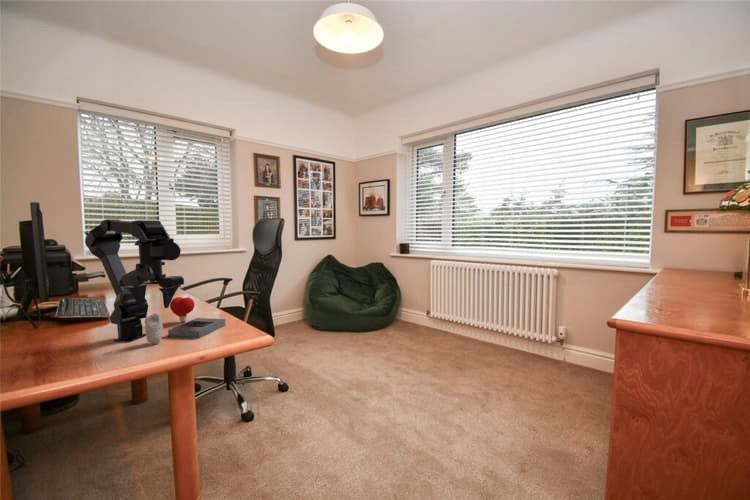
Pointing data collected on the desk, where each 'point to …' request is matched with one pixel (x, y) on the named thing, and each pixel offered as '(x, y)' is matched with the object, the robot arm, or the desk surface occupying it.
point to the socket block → (196, 328)
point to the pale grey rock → (153, 328)
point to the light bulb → (182, 307)
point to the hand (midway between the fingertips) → (153, 307)
